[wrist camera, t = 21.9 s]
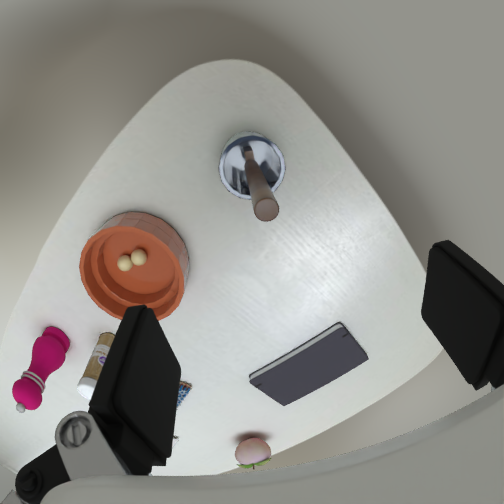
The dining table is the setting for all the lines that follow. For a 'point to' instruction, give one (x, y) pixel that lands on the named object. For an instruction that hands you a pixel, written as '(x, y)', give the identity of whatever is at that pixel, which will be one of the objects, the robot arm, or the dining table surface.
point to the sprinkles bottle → (95, 366)
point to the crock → (263, 155)
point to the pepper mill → (40, 368)
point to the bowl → (138, 277)
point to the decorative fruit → (252, 453)
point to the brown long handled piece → (259, 189)
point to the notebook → (310, 365)
